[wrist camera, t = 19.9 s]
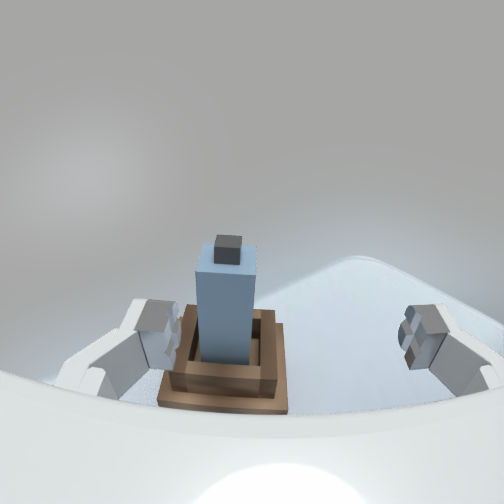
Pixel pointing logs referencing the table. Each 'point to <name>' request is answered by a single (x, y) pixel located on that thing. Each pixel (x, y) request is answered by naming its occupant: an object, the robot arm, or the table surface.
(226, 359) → the plug block
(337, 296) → the table surface
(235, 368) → the socket block
